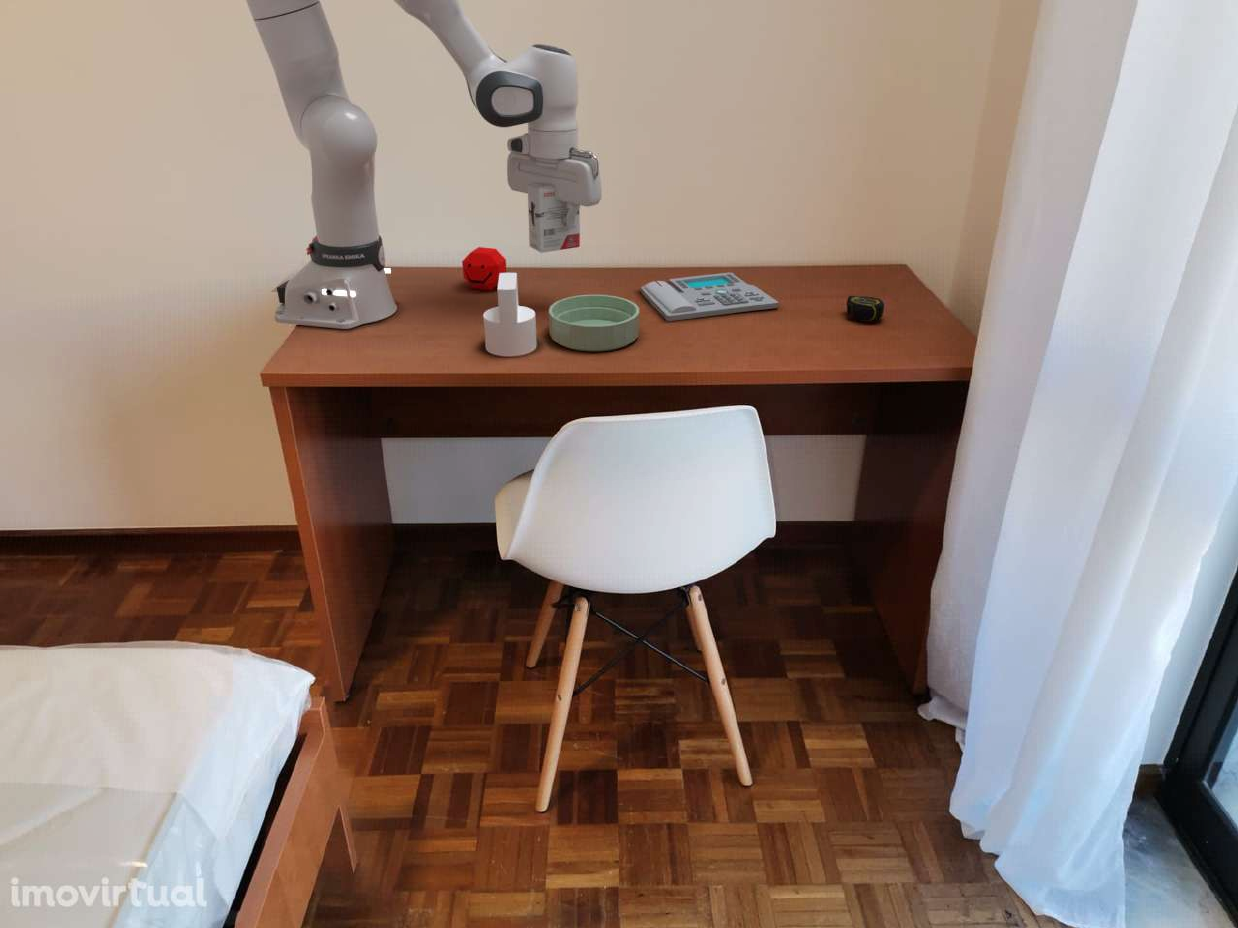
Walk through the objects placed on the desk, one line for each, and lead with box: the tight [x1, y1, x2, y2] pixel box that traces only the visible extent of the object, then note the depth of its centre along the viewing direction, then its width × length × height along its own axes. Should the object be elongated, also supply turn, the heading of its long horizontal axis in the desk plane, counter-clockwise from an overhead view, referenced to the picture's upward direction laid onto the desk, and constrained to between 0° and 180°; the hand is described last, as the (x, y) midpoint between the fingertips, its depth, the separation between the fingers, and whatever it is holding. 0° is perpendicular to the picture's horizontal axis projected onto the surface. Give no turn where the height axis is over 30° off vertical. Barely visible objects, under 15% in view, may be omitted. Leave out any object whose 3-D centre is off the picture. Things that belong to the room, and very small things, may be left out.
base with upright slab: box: [482, 272, 538, 357], centre depth 157 cm, size 9×9×12 cm
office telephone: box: [640, 272, 779, 322], centre depth 181 cm, size 23×3×20 cm
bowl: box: [548, 294, 640, 352], centre depth 163 cm, size 16×16×5 cm
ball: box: [461, 246, 508, 291], centre depth 186 cm, size 8×8×8 cm
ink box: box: [527, 184, 581, 254], centre depth 167 cm, size 8×5×12 cm, turn 122°
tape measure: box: [846, 295, 885, 323], centre depth 172 cm, size 7×7×4 cm
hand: (554, 222), depth 168 cm, fingers closed on ink box, 6 cm apart
